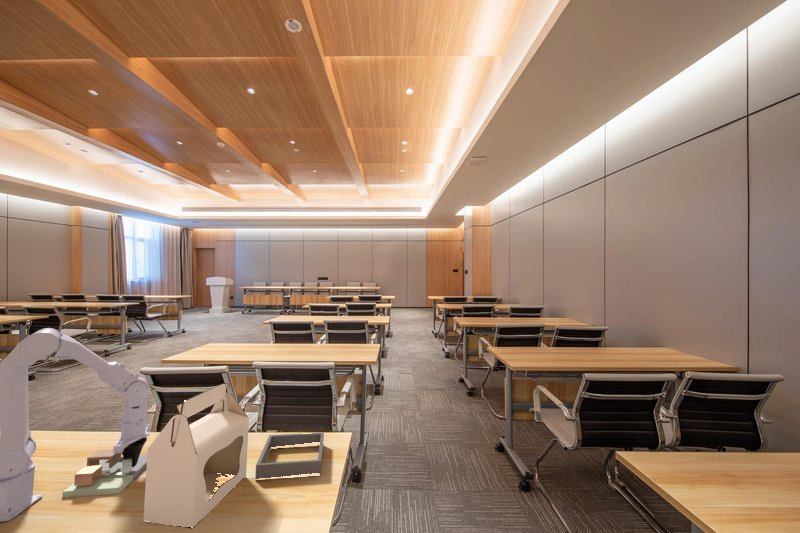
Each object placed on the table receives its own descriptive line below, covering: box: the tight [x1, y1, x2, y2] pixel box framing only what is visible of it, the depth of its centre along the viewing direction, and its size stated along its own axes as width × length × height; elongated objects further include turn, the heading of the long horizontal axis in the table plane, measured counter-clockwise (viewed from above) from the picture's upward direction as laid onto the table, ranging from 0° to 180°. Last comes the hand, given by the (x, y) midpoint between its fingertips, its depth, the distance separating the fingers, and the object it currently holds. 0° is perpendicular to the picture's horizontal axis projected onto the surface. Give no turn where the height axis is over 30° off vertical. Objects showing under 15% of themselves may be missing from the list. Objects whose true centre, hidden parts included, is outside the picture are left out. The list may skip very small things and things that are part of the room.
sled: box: [73, 457, 132, 487], centre depth 96 cm, size 8×10×4 cm
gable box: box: [142, 383, 250, 528], centre depth 92 cm, size 22×13×28 cm, turn 172°
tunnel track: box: [62, 448, 147, 498], centre depth 100 cm, size 18×13×6 cm
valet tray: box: [255, 431, 325, 479], centre depth 110 cm, size 20×19×4 cm
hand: (131, 466), depth 100 cm, fingers closed
